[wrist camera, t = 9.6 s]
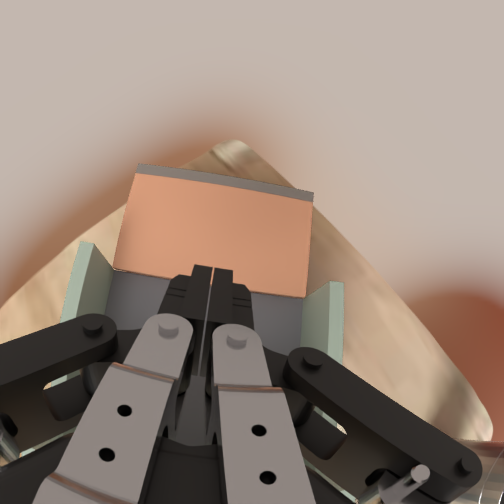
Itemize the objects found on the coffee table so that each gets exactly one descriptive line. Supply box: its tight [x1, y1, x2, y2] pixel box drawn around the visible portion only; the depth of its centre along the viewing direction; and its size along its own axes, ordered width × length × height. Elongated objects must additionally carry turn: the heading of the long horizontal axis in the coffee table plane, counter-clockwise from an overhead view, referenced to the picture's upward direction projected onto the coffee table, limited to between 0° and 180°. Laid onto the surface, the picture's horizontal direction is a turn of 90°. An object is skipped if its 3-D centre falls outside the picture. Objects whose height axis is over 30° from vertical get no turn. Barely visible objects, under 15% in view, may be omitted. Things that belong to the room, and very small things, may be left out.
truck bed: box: [22, 241, 355, 502], centre depth 20 cm, size 16×20×16 cm
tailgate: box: [113, 164, 314, 298], centre depth 26 cm, size 1×17×10 cm
